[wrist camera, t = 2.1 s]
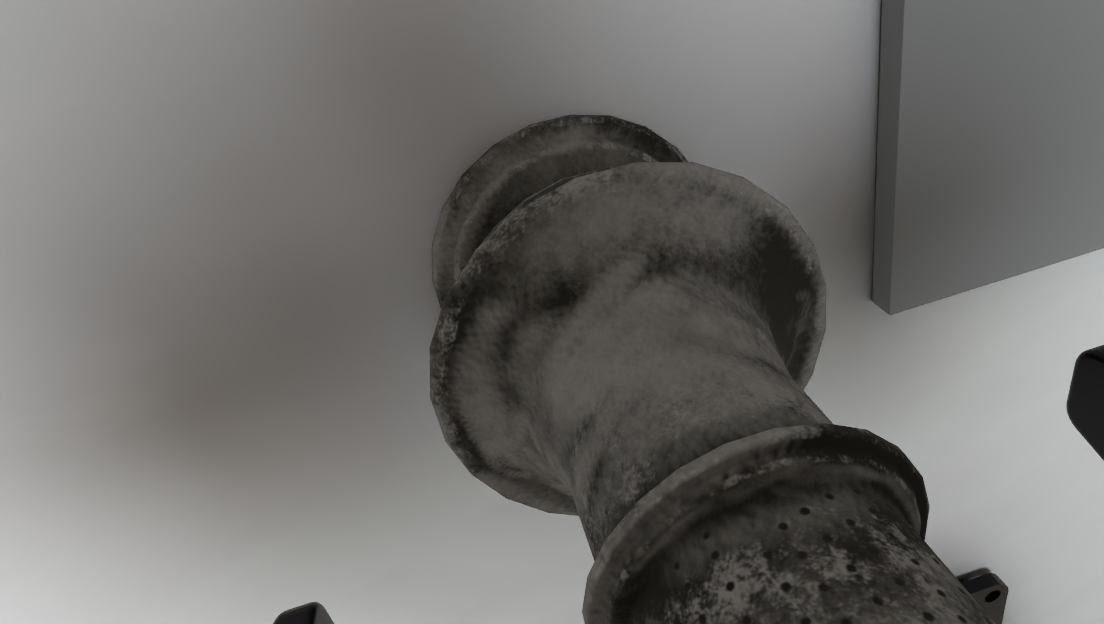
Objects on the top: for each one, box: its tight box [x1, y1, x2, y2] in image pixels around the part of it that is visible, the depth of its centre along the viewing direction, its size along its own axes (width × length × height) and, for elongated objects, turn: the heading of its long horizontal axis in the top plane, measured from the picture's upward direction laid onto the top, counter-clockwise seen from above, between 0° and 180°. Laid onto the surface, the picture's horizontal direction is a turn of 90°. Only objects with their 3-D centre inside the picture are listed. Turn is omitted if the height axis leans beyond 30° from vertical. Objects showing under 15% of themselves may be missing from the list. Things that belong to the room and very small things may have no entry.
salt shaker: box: [430, 115, 996, 624], centre depth 8 cm, size 6×6×12 cm
